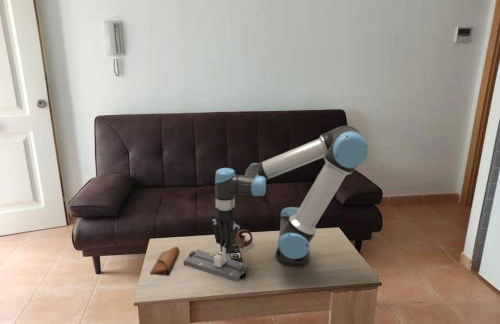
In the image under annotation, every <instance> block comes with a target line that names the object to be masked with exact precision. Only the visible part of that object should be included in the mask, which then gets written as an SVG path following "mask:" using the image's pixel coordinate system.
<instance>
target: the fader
mask: <svg viewBox="0 0 500 324" xmlns="http://www.w3.org/2000/svg"><path fill="white" fill-rule="evenodd" d="M215 255H216V256H215V257H214V266H217V267H222V266H223V265H224V264H225V263H226V262H227V261H228V260H227V261H226V262H224V261H222V252H221V250H219V252H218V253H217V254H215Z"/></svg>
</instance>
